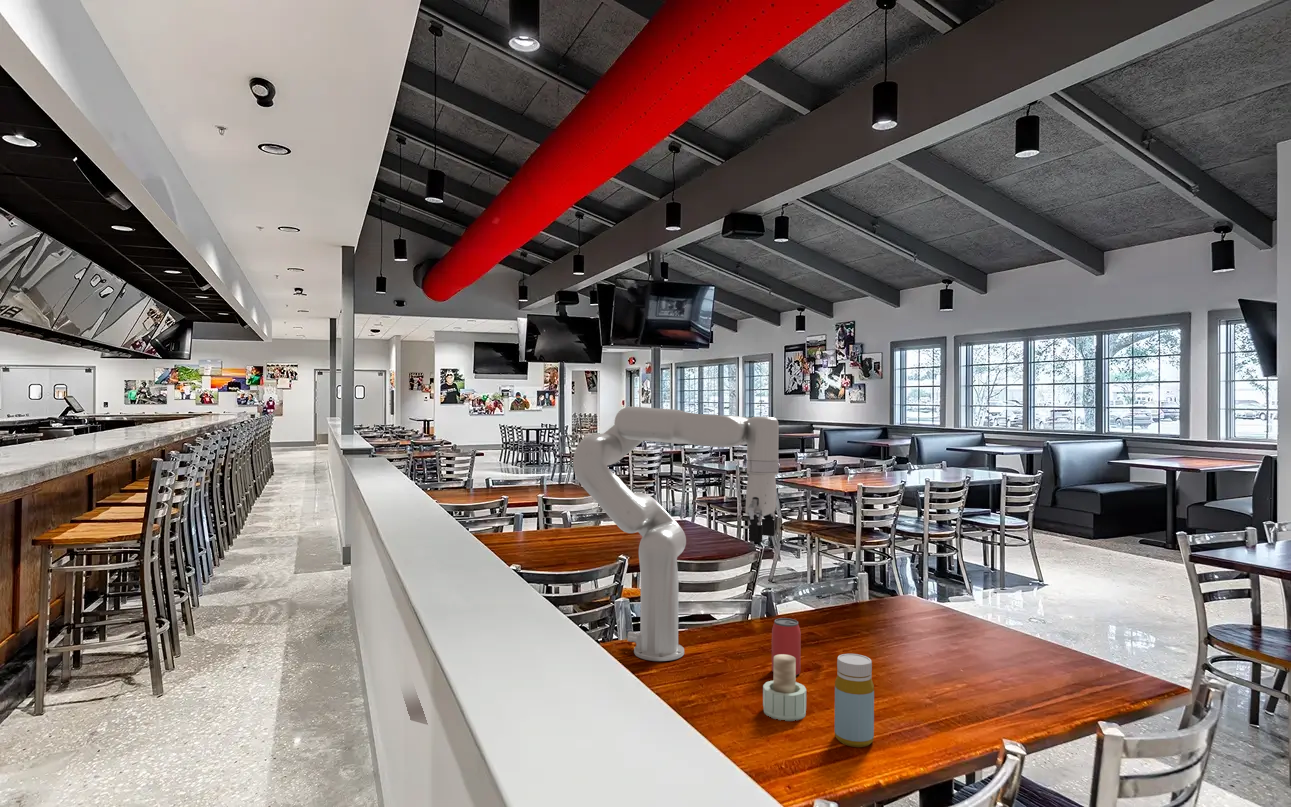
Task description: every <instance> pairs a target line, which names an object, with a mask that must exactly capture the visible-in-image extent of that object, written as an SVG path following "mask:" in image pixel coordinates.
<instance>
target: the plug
mask: <svg viewBox="0 0 1291 807" xmlns="http://www.w3.org/2000/svg"><path fill="white" fill-rule="evenodd" d="M772 675H773V690H774V691H776V692H780V693H795V684H796V682H797V681H796V679H797V678H796V677H797V676H796V658H795V657H793V656H791V655H785V654H779V655H775V656H774V672H773V674H772Z"/></svg>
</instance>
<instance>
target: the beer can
mask: <svg viewBox="0 0 1291 807" xmlns="http://www.w3.org/2000/svg"><path fill="white" fill-rule="evenodd" d="M801 636H802V634H801V628H800V625H799V621H798V620H797V619H793V618H787V617H781V618H776V619H774V623H773V626H772V629H771V671H772V672H773V673H774V656H775V655H779V654H785V655H791V656H793V657H795V658H796V677H797V676H798V675H800V673H801V655H802V654H801V647H802V646H801V644H802V643H801V642H802V641H801V639H802V638H801Z"/></svg>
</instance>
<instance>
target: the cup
mask: <svg viewBox="0 0 1291 807" xmlns="http://www.w3.org/2000/svg"><path fill="white" fill-rule="evenodd" d="M762 706H763V714H764V715H766V716H767V717H768V716H769V718H770V717H771V719H773V720H776V719H778V720H777V721H781V720H785V721H784V722H793V721H794V722H795V720H796V721H799V720H802V719H804V718H805V717H806V716H807V715H806V714H807V712H806V711H807V688H806V686H805V685H804V684H802V683H799V682H797V681H796V684H795V693H780V692H776V691H774V690H773V680H770V681H769V680H768V681H766V682H765V683H764V684H763V685H762Z"/></svg>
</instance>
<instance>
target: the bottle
mask: <svg viewBox="0 0 1291 807" xmlns="http://www.w3.org/2000/svg"><path fill="white" fill-rule="evenodd" d="M872 663H873V660H872V659H871V658H870V657H868V656H866V655H862V654H858V653H843V654H839V655H838V656H837V661H836V666H837V667H836V668H837V676H836V678H835V681H834V736H835V738H836V739H837V740H838V741H839V743H841V744H843V745H845V746H848V747H852V748H864V747H868V746H870V745H871V744H872V743H873V742H874V736H875V734H874V733H875V732H874V731H875V711H874V710H875V689H874V688H875V687H874V686H875V685H874V681H873V680H872V678H873V677H872V675H873V674H872V670H873V668H872V667H873V664H872Z"/></svg>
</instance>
